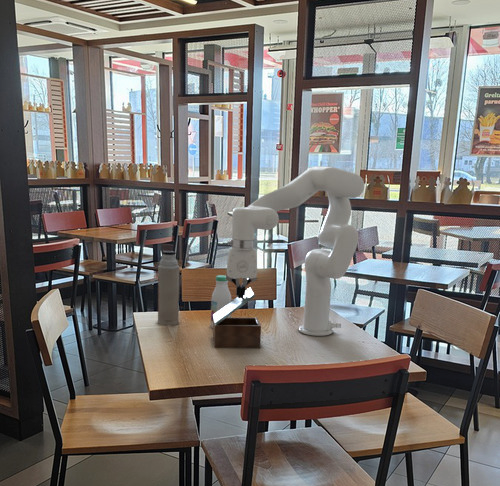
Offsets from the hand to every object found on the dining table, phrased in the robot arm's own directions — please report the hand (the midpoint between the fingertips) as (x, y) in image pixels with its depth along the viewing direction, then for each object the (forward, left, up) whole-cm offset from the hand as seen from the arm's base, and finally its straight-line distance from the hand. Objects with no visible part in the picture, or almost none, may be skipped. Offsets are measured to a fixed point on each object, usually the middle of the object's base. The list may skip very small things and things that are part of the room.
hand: (240, 297), depth 197 cm
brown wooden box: (+1, 0, -16) cm, 16 cm away
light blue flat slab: (+2, 0, -3) cm, 4 cm away
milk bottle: (+5, -20, -17) cm, 27 cm away
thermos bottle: (+25, -26, -17) cm, 40 cm away
